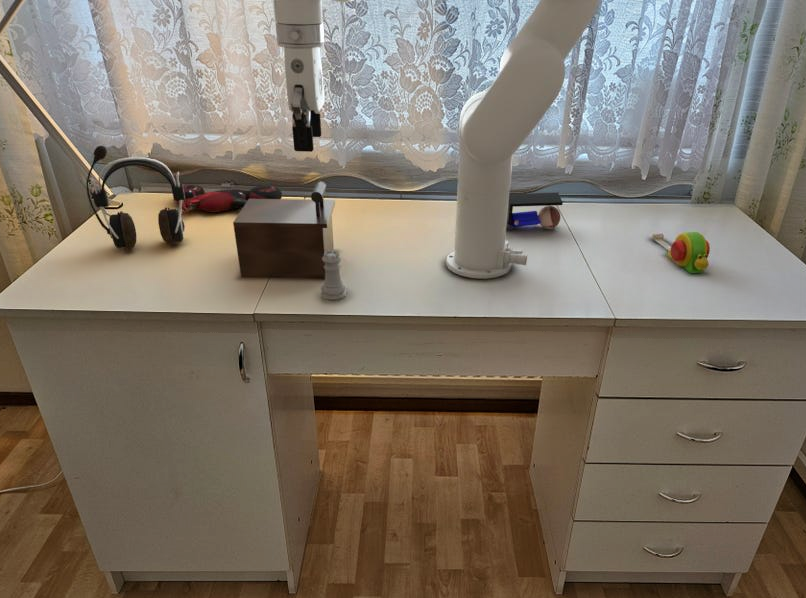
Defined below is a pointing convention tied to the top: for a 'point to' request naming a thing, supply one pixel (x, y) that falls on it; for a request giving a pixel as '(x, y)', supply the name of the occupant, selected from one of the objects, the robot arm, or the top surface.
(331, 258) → the rook chess piece
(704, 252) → the toy measuring tape
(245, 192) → the toy motorcycle
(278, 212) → the box lid
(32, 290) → the top surface
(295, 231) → the toy chest
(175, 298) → the top surface
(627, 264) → the top surface
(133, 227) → the headset
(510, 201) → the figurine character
